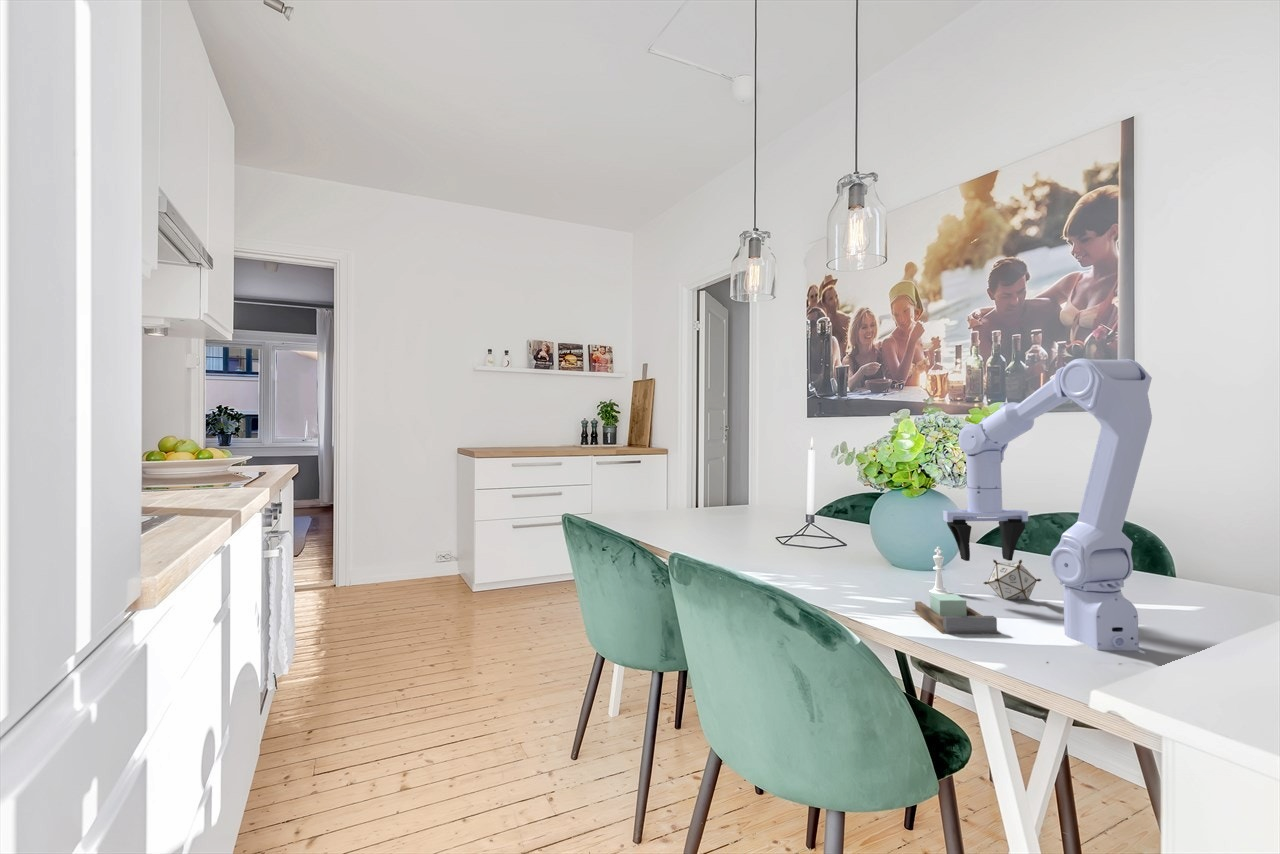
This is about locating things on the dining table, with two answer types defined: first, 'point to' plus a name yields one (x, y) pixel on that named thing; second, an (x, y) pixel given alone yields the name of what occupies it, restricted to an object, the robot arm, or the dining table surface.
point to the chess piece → (938, 573)
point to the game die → (1011, 581)
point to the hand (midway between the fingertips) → (986, 559)
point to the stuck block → (948, 604)
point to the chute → (958, 621)
